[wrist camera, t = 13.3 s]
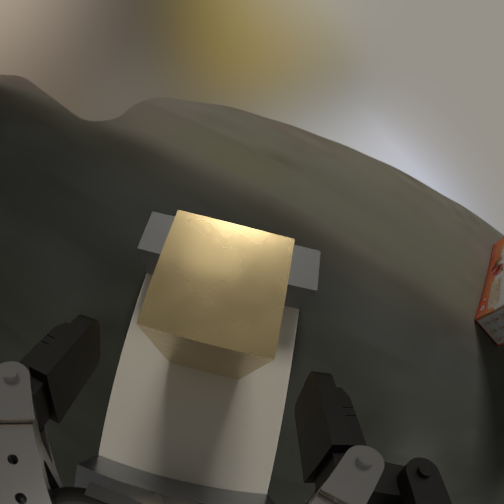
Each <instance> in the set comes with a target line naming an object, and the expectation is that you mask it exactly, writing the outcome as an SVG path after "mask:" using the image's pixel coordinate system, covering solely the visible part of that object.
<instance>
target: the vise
mask: <svg viewBox="0 0 504 504" xmlns="http://www.w3.org/2000/svg"><path fill="white" fill-rule="evenodd" d="M174 218H175V217H174V216H170V215H166V214H161V213H157V212H152V214H151V217H150V219H149V221H148V224H147V226H146V228H145V231H144V233H143V236H142V238H141V241H140V243H139V246H138V251H139V254H140V257H141V259H142V262H143V265H144V267H145V270H146V273H147V274H146V276H145V279H144V282H143V285H142V288H141V291H140V294H139V297H138V300H137V303H136V307H135V310H134V313H133V316H132V319H131V323H130V326H129V329H128V333H127V336H126V340H125V343H124V347H123V350H122V354H121V357H120V361H119V365H118V369H117V372H116V376H115V380H114V384H113V388H112V392H111V397H110V401H109V405H108V410H107V414H106V419H105V424H104V428H103V433H102V439H101V444H100V449H99V455H100V456H103V457H105V458H108V459H111V460H113V461H116V462H119V463H122V464H124V465H127V466H130V467H133V468H136V469H140V470H143V471H146V472H149V473H153V474H156V475H160V476H164V477H168V478H171V479H175V480H180V481H184V482H188V483H193V484H198V485H203V486H208V487H214V488H220V489H226V490H233V491H241V492H249V493H259V494H267V492H268V487H269V483H270V478H271V473H272V469H273V464H274V459H275V454H276V449H277V444H278V439H279V433H280V428H281V423H282V417H283V412H284V406H285V400H286V394H287V388H288V382H289V376H290V370H291V363H292V357H293V350H294V343H295V336H296V329H297V321H298V314H299V309H300V308H301V307H302V306H303V305H304V304H305V303H306V302H307V301H308V300H309V299H310V298H311V296H312V295H313V294H314V293H315V292H316V291H317V286H318V275H319V263H320V251H317V250H313V249H309V248H305V247H301V246H297V245H294V247H293V254H292V260H291V267H290V273H289V279H288V286H287V292H286V298H285V304H284V310H283V316H282V321H281V327H280V333H279V338H278V344H277V349H276V355H275V359H274V360H273V361H271V362H269V363H267V364H266V365H264V366H262V367H261V368H259V369H257V370H255V371H253V372H252V373H250V374H248V375H246V376H245V377H243V378H241V379H239V380H238V379H233V378H229V377H224V376H220V375H216V374H212V373H208V372H204V371H200V370H196V369H192V368H189V367H185V366H182V365H178V364H174V363H171V362H168V360H167V359H166V358H165V357H164V356H163V355H162V354H161V352H160V351H159V350H158V349H157V348H156V347H155V345H154V344H153V343H152V342H151V341H150V339H149V338H148V337H147V336H146V335H145V333H144V332H143V331H142V330H141V328H140V327H139V326H138V325H137V324H136V323H137V320H138V317H139V314H140V311H141V308H142V305H143V302H144V299H145V296H146V293H147V290H148V287H149V284H150V282H151V279H152V276H153V273H154V270H155V268H156V265H157V262H158V260H159V257H160V254H161V252H162V249H163V246H164V244H165V241H166V239H167V236H168V233H169V231H170V228H171V226H172V223H173V221H174Z"/></svg>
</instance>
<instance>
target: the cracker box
mask: <svg viewBox="0 0 504 504" xmlns="http://www.w3.org/2000/svg"><path fill="white" fill-rule="evenodd" d="M475 321H476V322H477V323H478V324H479V325H480V326H481V327H482V328H483V329H484V331H485V332H486V333H487V334H488V335H489V336H490V337H491V339H492V340H493V341H494V342H495V343H496V344H497V345H498V346H500V345H502V344H504V237H503V238H502V239H501V240H499V241H498V242H497V243H496V244H494V245H493V250H492V256H491V260H490V265H489V270H488V274H487V278H486V282H485V286H484V290H483V294H482V297H481V301H480V304H479V308H478V311H477V314H476V317H475Z"/></svg>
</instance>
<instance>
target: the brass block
mask: <svg viewBox="0 0 504 504" xmlns="http://www.w3.org/2000/svg"><path fill="white" fill-rule="evenodd" d="M294 240H295V239H291V238H288V237H284V236H280V235H276V234H272V233H269V232H265V231H261V230H257V229H253V228H249V227H245V226H241V225H237V224H233V223H229V222H225V221H221V220H217V219H213V218H209V217H205V216H201V215H197V214H193V213H189V212H185V211H181V210H178V211H177V214H176V216H175V218H174V221H173V223H172V226H171V228H170V231H169V233H168V236H167V239H166V241H165V244H164V246H163V249H162V252H161V254H160V257H159V260H158V262H157V265H156V268H155V270H154V273H153V276H152V279H151V282H150V284H149V287H148V290H147V293H146V296H145V299H144V302H143V305H142V308H141V311H140V314H139V317H138V320H137V323H136V324H137V325H138V326H139V327H140V328H141V330H142V331H143V332H144V333H145V335H146V336H147V337H148V338H149V339H150V341H151V342H152V343H153V344H154V345H155V347H156V348H157V349H158V350H159V351H160V352H161V354H162V355H163V356H164V357H165V358H166V359H167V360H168V362H171V363H174V364H178V365H182V366H185V367H189V368H192V369H196V370H200V371H204V372H208V373H212V374H216V375H220V376H224V377H229V378H233V379H238V380H239V379H241V378H243V377H245V376H246V375H248V374H250V373H252V372H253V371H255V370H257V369H259V368H261V367H262V366H264V365H266V364H267V363H269V362H271V361H273V360H274V359H275V355H276V349H277V344H278V338H279V333H280V327H281V321H282V316H283V310H284V304H285V298H286V292H287V286H288V279H289V273H290V267H291V260H292V254H293V247H294Z"/></svg>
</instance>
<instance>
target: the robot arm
mask: <svg viewBox="0 0 504 504" xmlns="http://www.w3.org/2000/svg"><path fill="white" fill-rule="evenodd" d="M99 359H100V327H99V322H98V320H95V319H92V318H89V317H87V316H84V315H78V316H77V317H76V318H75V319H74V320H73V321H72V322H71V323H70V324H69V323H63V324H61V325H59V326H56V327H54V328H53V329H52V330H51V331H50V332H49V333H48V334H47V336H45V337H44V338H43V339H42V340H41V342H39V343H38V344H37V345H36V346H35V347H34V348H33V349H32V350H31V351H30V352H29V353H28V354H27V355H26V356H25V357H24V358H23V359H22V360H21V361H20V362H19V363H18V362H12V361H10V362H4V363H2V364H0V504H142V503H140V502H138V501H136V500H134V499H132V498H131V497H129V496H127V495H125V494H123V493H120V492H117V491H114V490H112V489H109V488H106V487H104V486H101V485H99V484H96V483H94V482H91V481H90V482H89V484H88V486H87V488H80V487H63V485H62V483H61V480H60V478H59V475H58V473H57V470H56V467H55V463H54V459H53V455H52V451H51V447H50V443H49V439H48V434H47V429H46V426H45V424H46V422H47V421H48V419H51V420H53V421H55V422H57V423H60V422H61V420H62V418H63V417H64V415H65V414H66V412H67V411H68V409H69V408H70V406H71V404H72V403H73V401H74V400H75V398H76V397H77V395H78V394H79V392H80V391H81V389H82V388H83V386H84V385H85V383H86V382H87V380H88V379H89V377H90V376H91V375H92V373H93V372H94V370H95V369H96V367H97V365H98V362H99ZM295 420H296V427H297V434H298V441H299V448H300V456H301V463H302V471H303V478H304V483H315V486H316V489H315V491H314V492H313V493H312V494H311V495H310V497H309V498H308V499H307V500H306V502H305V503H304V504H452V503H451V500H450V498H449V495H448V492H447V490H446V487H445V485H444V482H443V480H442V477H441V475H440V473H439V470H438V468H437V467H436V465H435V464H434V463H433V462H431V461H430V460H428V459H425V458H414V459H412V460H410V461H409V462H408V463H407V464H406V466H401V465H396V464H391V463H386V462H384V460H383V458H382V456H381V455H380V454H379V453H378V452H377V451H376V450H375V449H373V448H371V447H368V446H367V445H366V442H365V439H364V436H363V433H362V430H361V428H360V425H359V422H358V419H357V417H356V413H355V411H354V409H353V405H352V402H351V400H350V397H349V396H348V395H347V394H346V392H345V391H344V390H343V389H342V388H338V387H336V385H335V382H334V379H333V376H332V375H331V374H329V373H321V372H313V371H312V372H310V374H309V375H308V377H307V380H306V382H305V384H304V386H303V389H302V391H301V393H300V395H299V397H298V399H297V402H296V406H295Z"/></svg>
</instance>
